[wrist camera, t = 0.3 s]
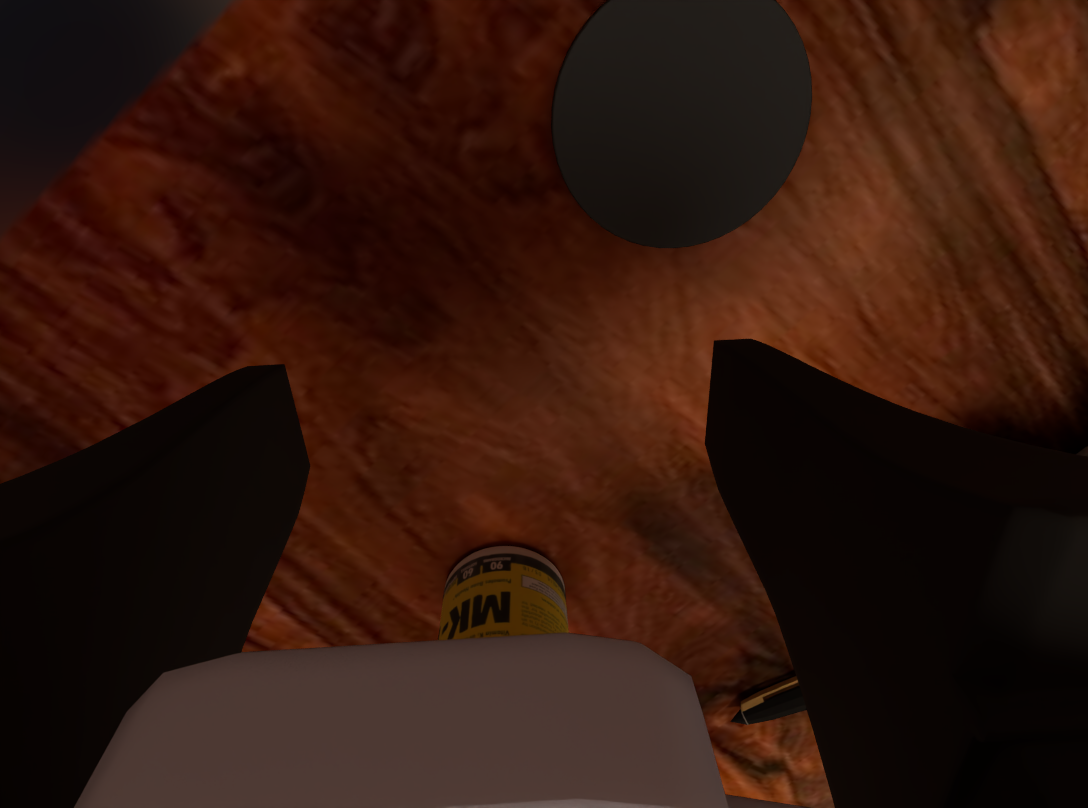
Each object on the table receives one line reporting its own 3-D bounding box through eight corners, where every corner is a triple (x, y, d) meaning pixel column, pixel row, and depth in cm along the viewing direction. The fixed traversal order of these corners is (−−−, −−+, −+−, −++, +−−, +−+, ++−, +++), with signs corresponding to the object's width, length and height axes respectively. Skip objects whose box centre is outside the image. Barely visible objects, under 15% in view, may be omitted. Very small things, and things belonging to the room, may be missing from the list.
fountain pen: (1047, 602, 29) (1043, 579, 29) (1067, 623, 28) (1064, 601, 28) (730, 717, 32) (720, 699, 31) (738, 740, 31) (728, 723, 30)
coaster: (788, 238, 21) (793, 242, 20) (555, 250, 21) (556, 255, 20) (826, -39, 17) (832, -40, 17) (546, -25, 17) (546, -26, 17)
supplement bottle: (506, 521, 26) (505, 725, 18) (588, 587, 27) (617, 797, 20) (418, 587, 27) (384, 801, 20) (501, 646, 29) (499, 861, 22)
